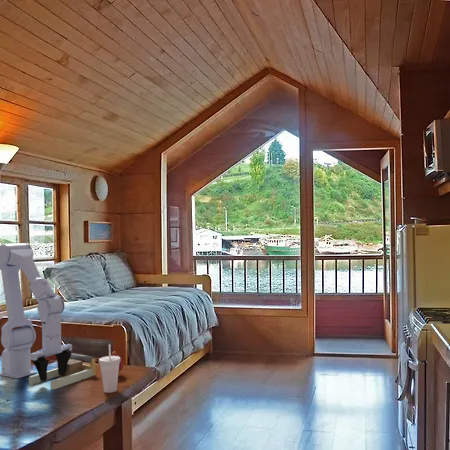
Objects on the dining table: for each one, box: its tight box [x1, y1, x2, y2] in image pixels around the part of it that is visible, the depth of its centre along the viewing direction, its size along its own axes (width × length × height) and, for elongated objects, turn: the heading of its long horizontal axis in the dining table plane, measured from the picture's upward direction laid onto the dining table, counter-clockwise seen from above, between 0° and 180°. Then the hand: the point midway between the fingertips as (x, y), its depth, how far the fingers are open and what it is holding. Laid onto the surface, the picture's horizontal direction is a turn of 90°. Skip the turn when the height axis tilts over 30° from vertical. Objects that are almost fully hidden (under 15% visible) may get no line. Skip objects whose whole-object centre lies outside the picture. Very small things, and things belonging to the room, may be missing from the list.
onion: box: [111, 350, 124, 374], centre depth 172 cm, size 6×6×8 cm
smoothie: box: [98, 343, 121, 394], centre depth 156 cm, size 6×6×14 cm
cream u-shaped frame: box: [28, 352, 97, 390], centre depth 169 cm, size 11×18×6 cm, turn 148°
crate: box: [59, 359, 84, 378], centre depth 171 cm, size 5×5×5 cm
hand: (52, 377), depth 165 cm, fingers open, 6 cm apart
